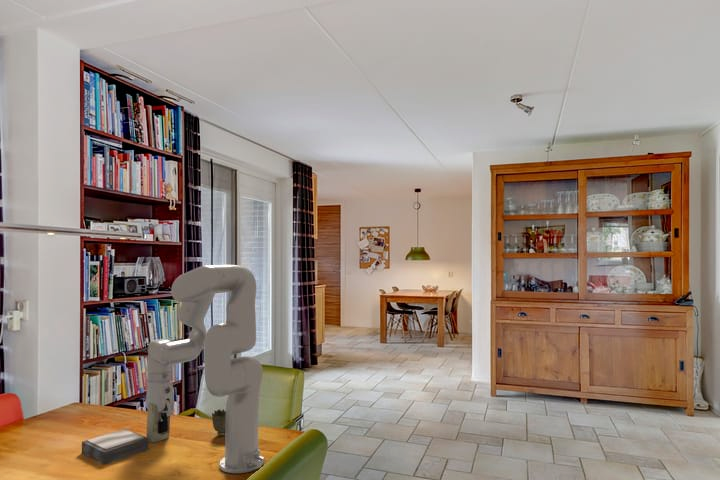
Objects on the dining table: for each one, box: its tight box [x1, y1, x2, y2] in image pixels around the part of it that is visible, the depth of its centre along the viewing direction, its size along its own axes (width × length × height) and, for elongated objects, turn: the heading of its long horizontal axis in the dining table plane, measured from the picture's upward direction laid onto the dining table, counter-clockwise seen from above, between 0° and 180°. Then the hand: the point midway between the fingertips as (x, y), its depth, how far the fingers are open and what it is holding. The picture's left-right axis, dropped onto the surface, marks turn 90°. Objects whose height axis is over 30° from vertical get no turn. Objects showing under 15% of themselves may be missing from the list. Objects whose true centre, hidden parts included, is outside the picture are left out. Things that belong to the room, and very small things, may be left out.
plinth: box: [81, 428, 150, 466], centre depth 150 cm, size 14×14×4 cm
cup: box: [211, 409, 226, 437], centre depth 164 cm, size 8×7×8 cm
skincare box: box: [145, 403, 171, 443], centre depth 161 cm, size 6×4×12 cm
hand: (158, 430), depth 161 cm, fingers closed on skincare box, 4 cm apart
